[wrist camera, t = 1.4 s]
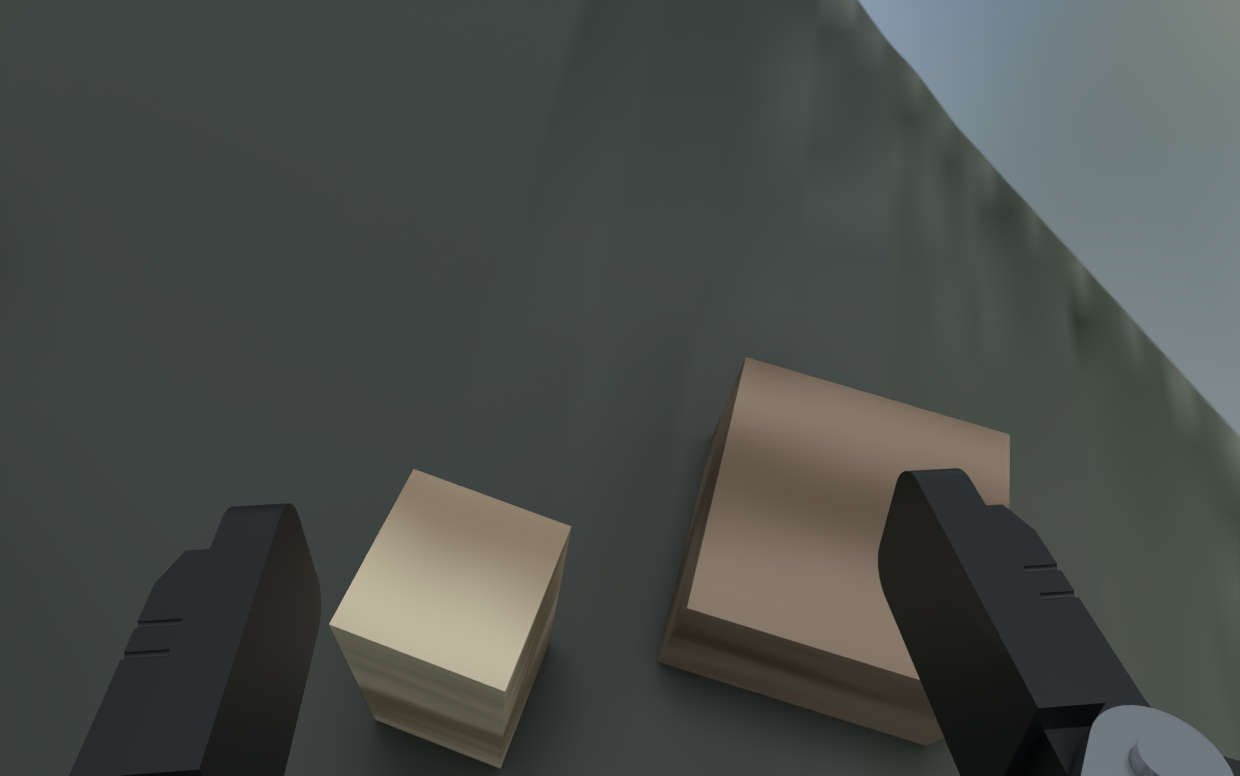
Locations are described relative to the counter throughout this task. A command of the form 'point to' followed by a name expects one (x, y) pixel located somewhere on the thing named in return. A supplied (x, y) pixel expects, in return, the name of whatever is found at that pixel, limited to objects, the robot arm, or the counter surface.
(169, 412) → the counter surface
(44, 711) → the counter surface
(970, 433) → the walnut base
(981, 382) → the counter surface
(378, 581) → the oak block
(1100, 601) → the counter surface
